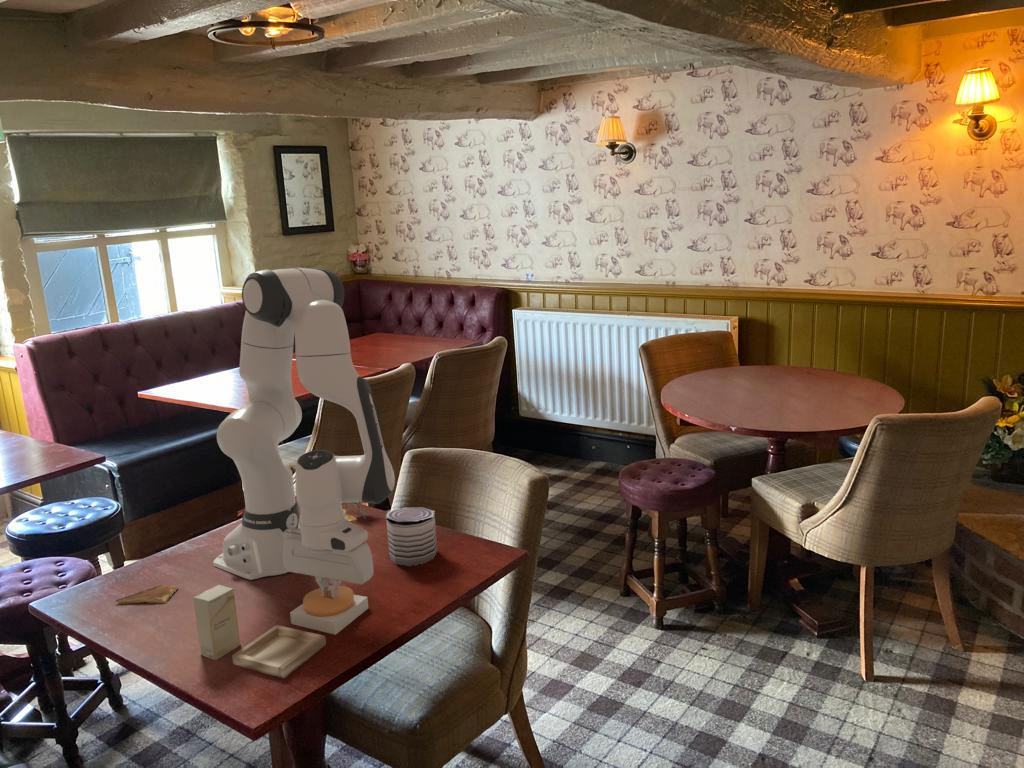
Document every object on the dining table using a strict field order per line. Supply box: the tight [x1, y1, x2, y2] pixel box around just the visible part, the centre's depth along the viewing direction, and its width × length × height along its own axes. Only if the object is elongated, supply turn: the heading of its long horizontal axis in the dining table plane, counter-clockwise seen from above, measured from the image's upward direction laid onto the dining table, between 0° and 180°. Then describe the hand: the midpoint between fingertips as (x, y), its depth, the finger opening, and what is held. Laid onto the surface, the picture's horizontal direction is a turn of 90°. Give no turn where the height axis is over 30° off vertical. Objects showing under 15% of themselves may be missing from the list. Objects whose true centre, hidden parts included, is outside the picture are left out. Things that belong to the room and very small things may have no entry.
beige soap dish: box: [231, 624, 327, 680], centre depth 154 cm, size 12×12×2 cm
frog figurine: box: [343, 502, 367, 522], centre depth 218 cm, size 10×18×15 cm, turn 60°
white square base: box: [289, 594, 369, 636], centre depth 167 cm, size 11×11×3 cm
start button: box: [302, 585, 355, 616], centre depth 167 cm, size 10×10×2 cm
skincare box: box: [192, 584, 241, 661], centre depth 156 cm, size 6×4×12 cm
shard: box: [115, 584, 179, 605], centre depth 179 cm, size 11×8×2 cm
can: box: [384, 506, 438, 567], centre depth 192 cm, size 11×11×12 cm
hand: (330, 596), depth 167 cm, fingers closed, pressing on start button
